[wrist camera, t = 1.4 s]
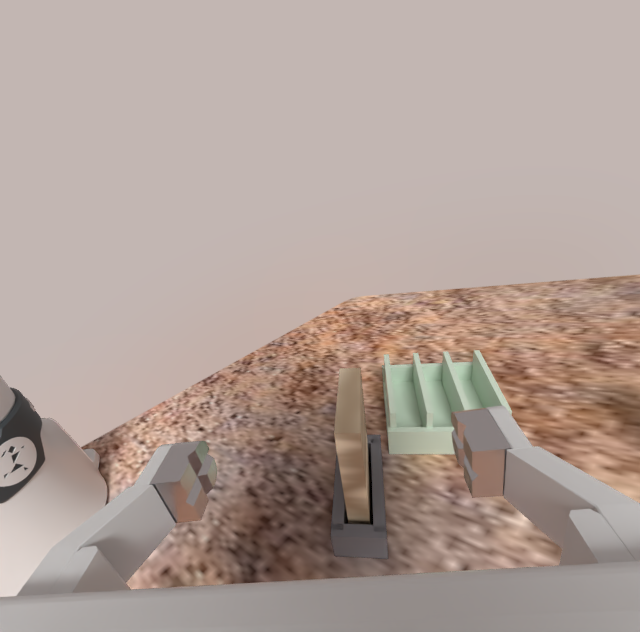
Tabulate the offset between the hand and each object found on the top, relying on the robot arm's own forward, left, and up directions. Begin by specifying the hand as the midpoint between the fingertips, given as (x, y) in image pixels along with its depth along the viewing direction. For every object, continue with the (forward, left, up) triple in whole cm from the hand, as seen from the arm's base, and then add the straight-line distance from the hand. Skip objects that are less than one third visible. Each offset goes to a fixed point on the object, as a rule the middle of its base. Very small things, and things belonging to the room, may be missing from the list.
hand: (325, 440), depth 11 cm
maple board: (0, +12, -22) cm, 25 cm away
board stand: (0, +12, -22) cm, 25 cm away
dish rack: (+9, +22, -22) cm, 32 cm away
